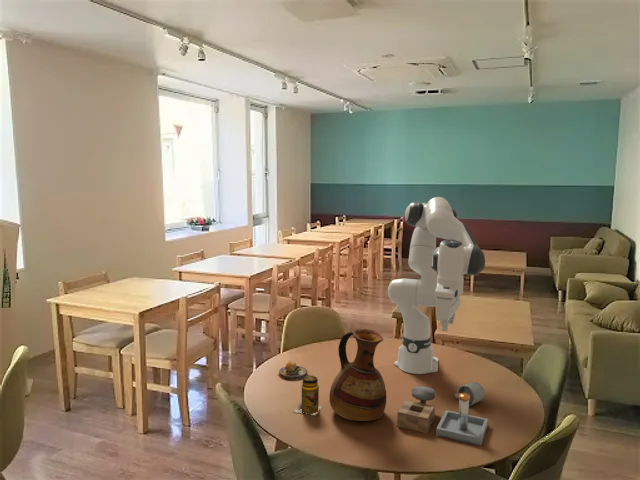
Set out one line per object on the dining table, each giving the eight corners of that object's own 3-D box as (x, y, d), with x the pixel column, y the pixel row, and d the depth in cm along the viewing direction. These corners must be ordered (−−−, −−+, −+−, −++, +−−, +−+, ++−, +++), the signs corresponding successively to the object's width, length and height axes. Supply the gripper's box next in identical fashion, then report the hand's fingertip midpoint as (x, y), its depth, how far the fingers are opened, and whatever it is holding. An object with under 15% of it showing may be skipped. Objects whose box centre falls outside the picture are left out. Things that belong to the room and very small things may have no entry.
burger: (312, 376, 206) (312, 359, 205) (288, 383, 200) (288, 365, 199) (297, 367, 216) (297, 350, 215) (273, 373, 210) (273, 356, 209)
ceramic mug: (486, 402, 183) (486, 383, 182) (473, 409, 178) (474, 389, 177) (462, 393, 191) (462, 375, 190) (449, 399, 186) (450, 380, 185)
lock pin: (458, 424, 166) (459, 392, 164) (469, 427, 164) (471, 394, 163) (456, 429, 163) (457, 396, 161) (467, 432, 161) (469, 398, 159)
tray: (445, 416, 173) (445, 410, 172) (487, 425, 167) (488, 418, 166) (436, 435, 160) (436, 428, 160) (481, 446, 154) (481, 438, 154)
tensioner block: (412, 404, 182) (412, 384, 181) (439, 409, 177) (440, 389, 176) (397, 426, 166) (397, 404, 165) (426, 433, 161) (427, 411, 160)
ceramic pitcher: (371, 434, 161) (373, 344, 157) (318, 417, 171) (318, 333, 167) (395, 410, 177) (397, 328, 173) (345, 396, 188) (347, 319, 184)
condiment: (315, 416, 172) (316, 383, 171) (293, 412, 175) (293, 379, 173) (322, 406, 179) (322, 375, 178) (300, 403, 182) (300, 372, 180)
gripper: (446, 281, 180) (445, 318, 182) (433, 292, 162) (432, 333, 164) (464, 282, 178) (463, 320, 179) (453, 295, 159) (451, 336, 161)
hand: (448, 327), depth 172 cm, fingers open, 8 cm apart
